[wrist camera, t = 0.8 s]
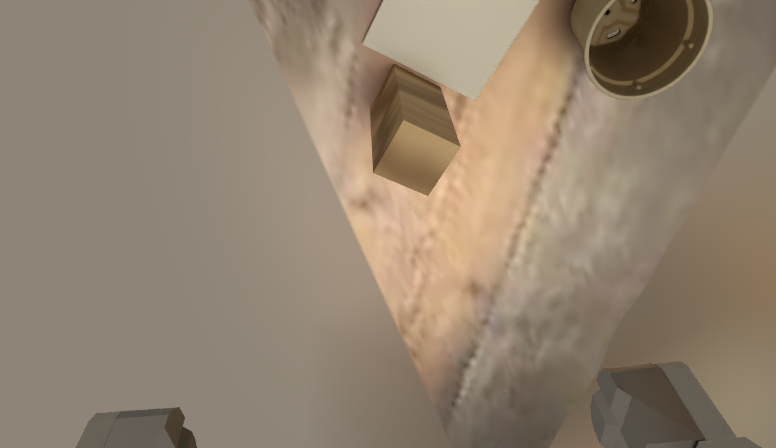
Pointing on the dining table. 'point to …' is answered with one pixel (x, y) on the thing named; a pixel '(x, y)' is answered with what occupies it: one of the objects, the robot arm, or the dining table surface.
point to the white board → (449, 37)
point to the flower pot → (640, 43)
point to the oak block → (411, 131)
